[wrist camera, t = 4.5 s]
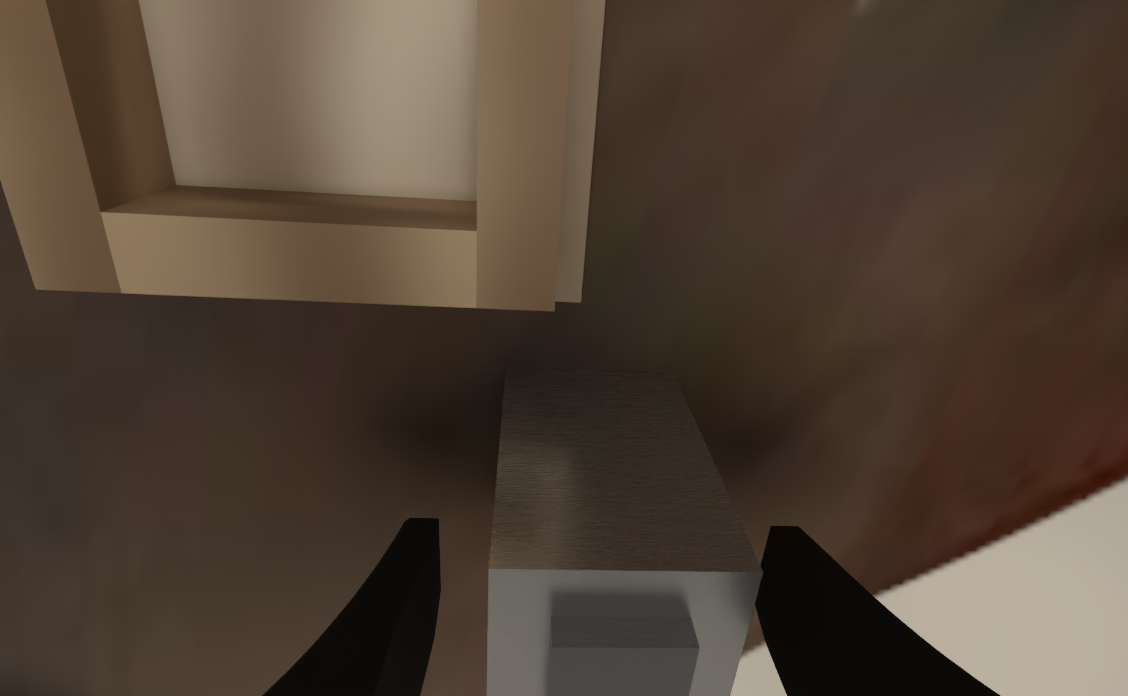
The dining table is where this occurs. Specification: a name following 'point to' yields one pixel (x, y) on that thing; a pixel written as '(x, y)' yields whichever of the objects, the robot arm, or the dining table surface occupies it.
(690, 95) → the dining table surface
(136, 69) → the socket board
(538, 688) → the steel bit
